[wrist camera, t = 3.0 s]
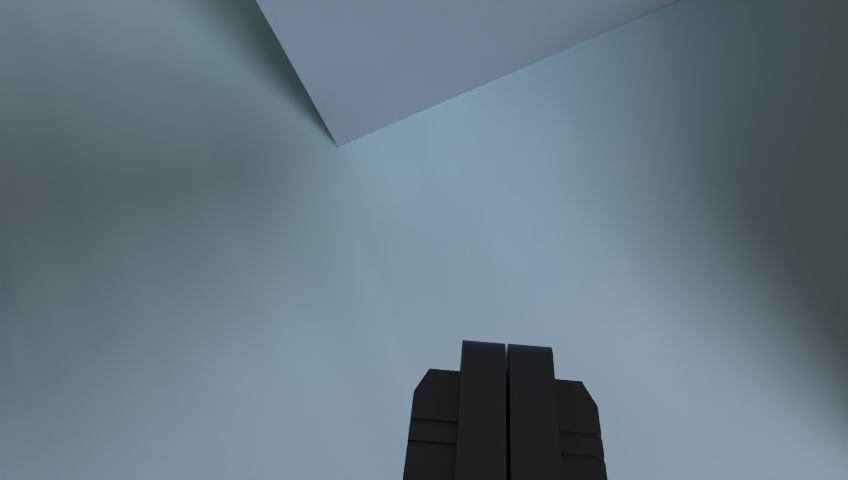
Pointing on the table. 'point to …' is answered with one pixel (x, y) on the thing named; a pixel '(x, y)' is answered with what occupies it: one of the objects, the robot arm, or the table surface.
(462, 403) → the robot arm
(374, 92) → the white box
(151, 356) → the table surface
